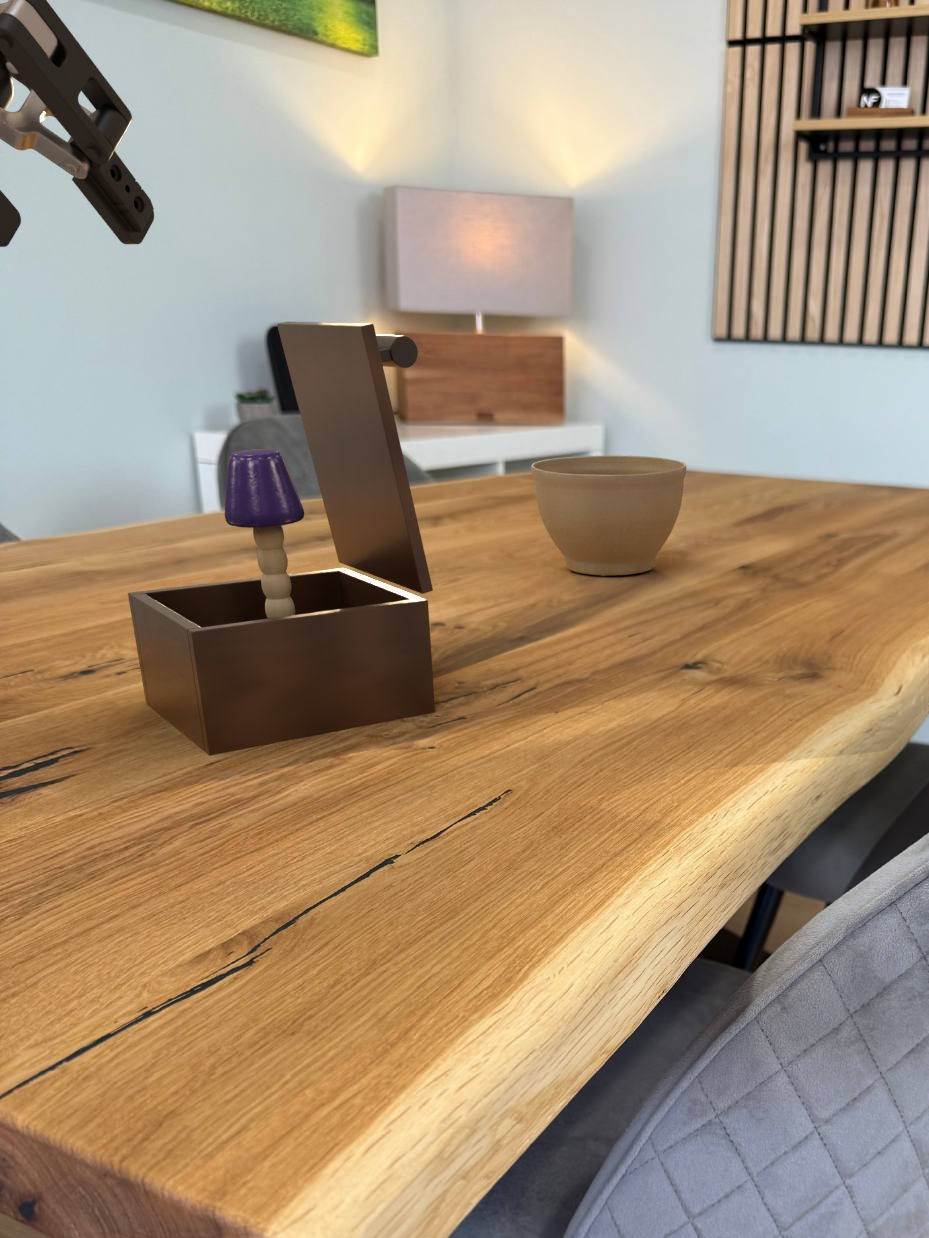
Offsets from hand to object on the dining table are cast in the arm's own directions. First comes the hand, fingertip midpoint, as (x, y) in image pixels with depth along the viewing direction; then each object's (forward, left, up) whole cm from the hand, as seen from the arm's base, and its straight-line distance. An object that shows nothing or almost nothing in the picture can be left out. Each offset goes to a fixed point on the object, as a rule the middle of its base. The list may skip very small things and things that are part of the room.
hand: (73, 233), depth 58 cm
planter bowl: (+59, +39, -29) cm, 76 cm away
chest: (+10, +6, -28) cm, 31 cm away
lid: (+15, +6, -12) cm, 20 cm away
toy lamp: (+10, +5, -28) cm, 30 cm away
